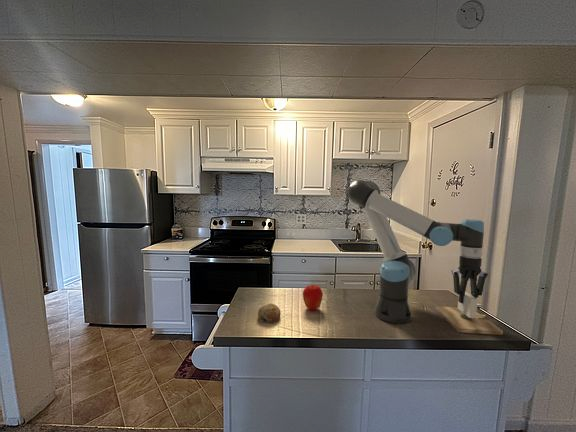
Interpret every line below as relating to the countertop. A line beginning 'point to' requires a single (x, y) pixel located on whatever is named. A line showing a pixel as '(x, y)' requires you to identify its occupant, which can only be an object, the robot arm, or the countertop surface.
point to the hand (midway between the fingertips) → (466, 310)
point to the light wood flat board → (468, 322)
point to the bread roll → (269, 313)
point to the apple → (312, 297)
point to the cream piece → (469, 308)
